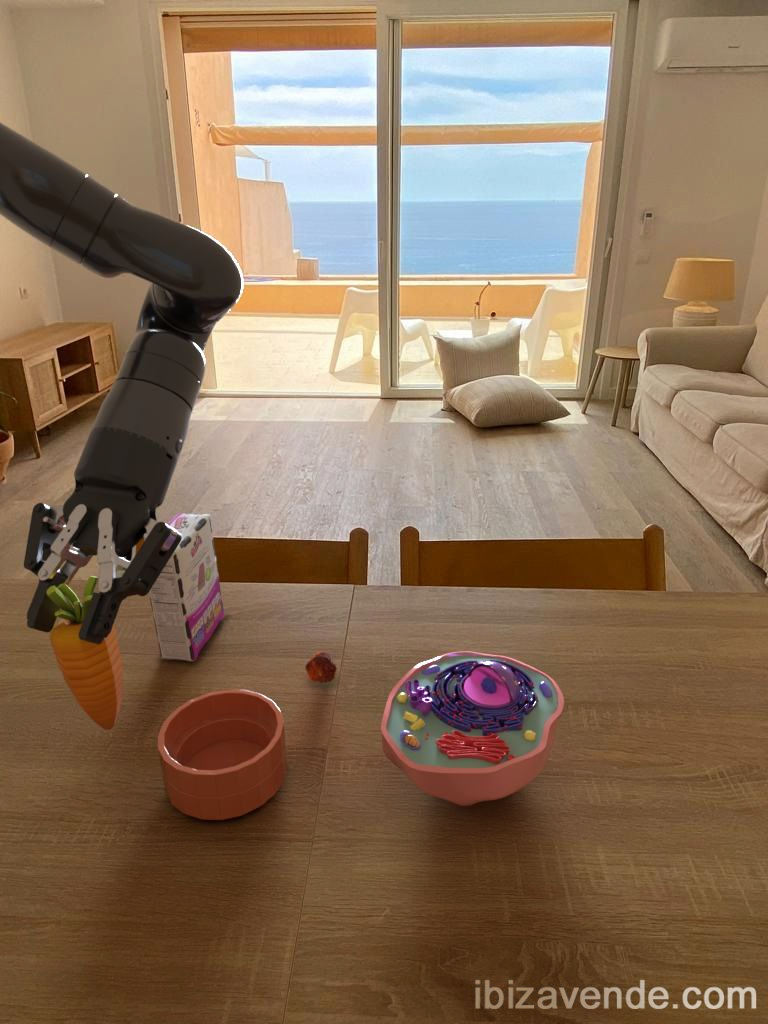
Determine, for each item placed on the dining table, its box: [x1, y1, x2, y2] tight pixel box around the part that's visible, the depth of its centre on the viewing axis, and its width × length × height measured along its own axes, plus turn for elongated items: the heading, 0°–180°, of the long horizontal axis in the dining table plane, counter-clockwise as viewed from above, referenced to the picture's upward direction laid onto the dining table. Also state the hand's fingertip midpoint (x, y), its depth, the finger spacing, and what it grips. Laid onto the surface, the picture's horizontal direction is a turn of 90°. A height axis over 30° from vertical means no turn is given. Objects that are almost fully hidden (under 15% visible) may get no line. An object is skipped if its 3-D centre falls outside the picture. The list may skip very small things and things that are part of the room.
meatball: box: [305, 651, 338, 683], centre depth 85 cm, size 4×4×4 cm
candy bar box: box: [148, 512, 225, 663], centre depth 92 cm, size 11×5×16 cm, turn 171°
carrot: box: [47, 575, 124, 731], centre depth 58 cm, size 5×5×15 cm
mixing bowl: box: [157, 689, 288, 821], centre depth 71 cm, size 12×12×6 cm
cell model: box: [380, 650, 565, 807], centre depth 70 cm, size 17×20×11 cm
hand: (64, 634), depth 55 cm, fingers closed on carrot, 4 cm apart
